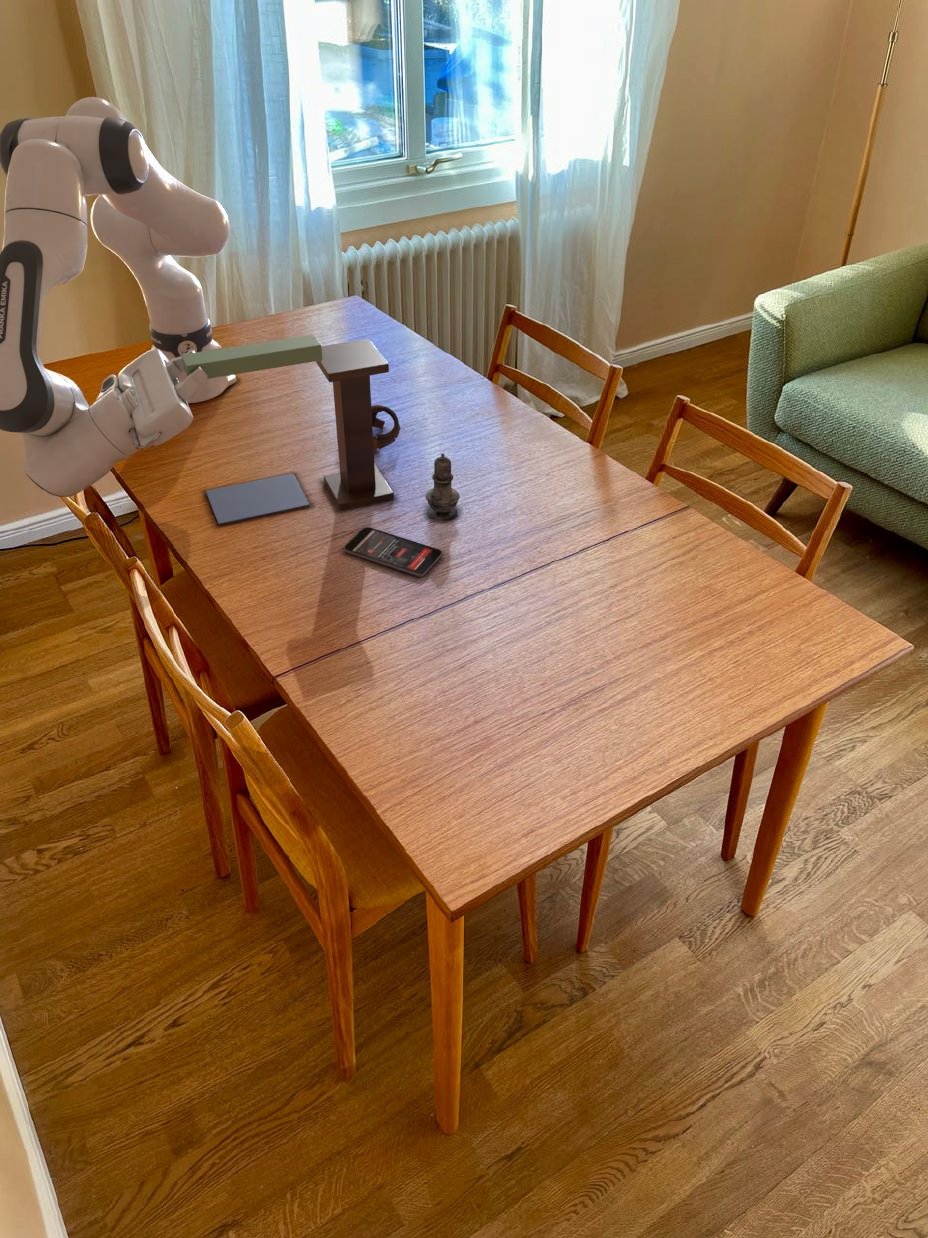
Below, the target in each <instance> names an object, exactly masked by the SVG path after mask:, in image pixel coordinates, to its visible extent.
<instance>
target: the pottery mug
mask: <svg viewBox="0 0 928 1238" xmlns="http://www.w3.org/2000/svg"><path fill="white" fill-rule="evenodd" d="M371 408H372V427H373V428H376V429H380V430H383V429H384V427H385V424H386V421H385V420H383V419H381V418H378V417H377V416H378V415H379V413H382V412H384V413H386V414H388V415H389V416H390V417H391V418H392V420H393V428H392V429H391V430H389V431H387V432H386V433H376V436H373V446H374V453H376V452H377V450H382V449H384V448H386V447H388V446H389V445H391V444H393V443H394V442H395V441H396V439H397V438H398V437H399V434H400V431H401V429H402V428H401V425H400V422H399V418H398V416H397V413H395V411H394V410H393V409H391V408H389V407H388V406H385V405H381V404H374V405H371Z"/></svg>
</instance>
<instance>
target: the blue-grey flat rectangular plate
mask: <svg viewBox="0 0 928 1238" xmlns="http://www.w3.org/2000/svg"><path fill="white" fill-rule="evenodd" d="M205 494H206V496H207V499H208V502H209V504H210V507H211V509H212V512H213V515H214V517H215V520H216V522H217V524H218V525H217V526H223V525H228V524H233V523H238V522H242V521H243V522H244V521H247V520H251V519H256V518H261V517H266V516H270V515H275V514H281V513H284V512H288V511H294V510H298V509H304V508H307V507H310V503H309V501H308V499H307V496H306V495H305V492H303V489H302V487H301V485H300V484H299V481H298V480H297V478H296V476H295V474H294V472H293V473H286V474H282V475H276V476H271V477H267V478H262V479H258V480H257V479H256V480H252V481H251V480H250V481H246V482H242V483H237V484H231V485H226V486H223V487H218V488H212V489H207V490H205Z"/></svg>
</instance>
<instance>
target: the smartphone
mask: <svg viewBox="0 0 928 1238" xmlns="http://www.w3.org/2000/svg"><path fill="white" fill-rule="evenodd" d="M343 550H344V552H345V553H347V554H350V555H353V556H355V557H359V558H362V559H365V560H368V561H371V562H374V563H377V564H379V565H384V566H386V567H389V568H392V569H395V570H398V571H400V572H401V571H402V572H405V573H407V574H410V575H413V576H416V577H419V578H420V577H424V576H425V575H426V574H427V573H428V572H429V571H430V570H431V569H432V568H433V566H434V565H435V564H436V563H437V562H438V561H439V559H441V557H442V556H443V551H442V550H441V549H439V548H436V547H432V546H430V545H426V544H423V543H420V542H417V541H414V540H411V539H408V538H404V537H402V536H398V535H395V534H392V533H389V532H386V531H383V530H379V529H377V528H373V527H370V526H365V527H363V528H362V529H361V530H359V532H358V533H357V534H356V535H354V537H353V538H352V539H351V540H350V541H349V542H348V543H347V544H345V546H344V548H343Z"/></svg>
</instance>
